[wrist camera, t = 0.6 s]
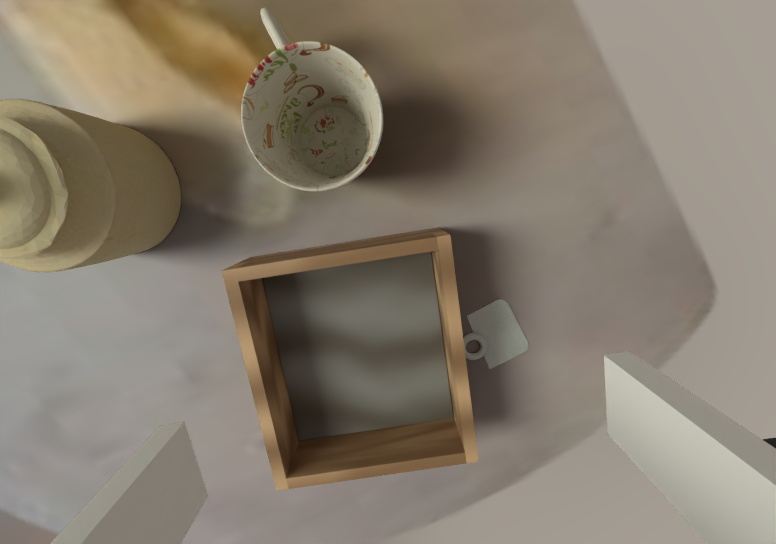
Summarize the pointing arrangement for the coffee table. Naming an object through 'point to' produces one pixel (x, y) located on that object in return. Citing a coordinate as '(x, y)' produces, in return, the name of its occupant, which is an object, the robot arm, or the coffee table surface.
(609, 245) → the coffee table surface
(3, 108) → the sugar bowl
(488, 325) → the mounting bracket
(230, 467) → the coffee table surface
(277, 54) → the mug
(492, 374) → the coffee table surface
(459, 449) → the open wooden crate
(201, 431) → the coffee table surface
